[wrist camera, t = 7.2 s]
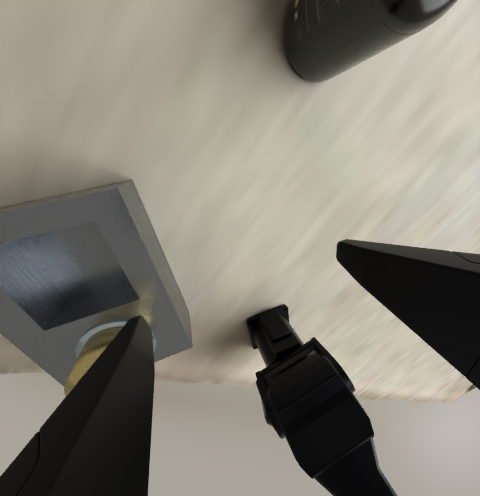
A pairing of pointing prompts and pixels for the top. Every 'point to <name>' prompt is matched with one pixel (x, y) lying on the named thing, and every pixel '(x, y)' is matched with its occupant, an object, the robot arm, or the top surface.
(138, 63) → the top surface
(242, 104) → the top surface
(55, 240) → the housing
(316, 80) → the supplement bottle
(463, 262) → the robot arm
